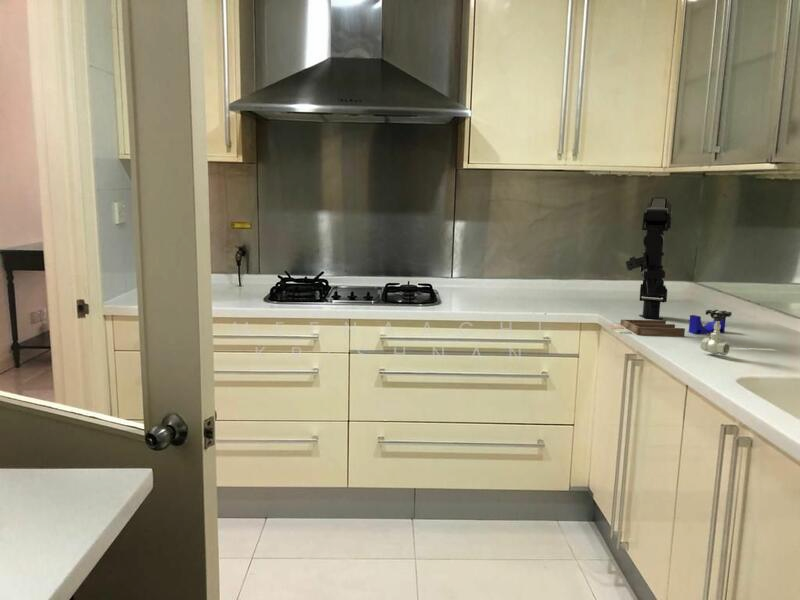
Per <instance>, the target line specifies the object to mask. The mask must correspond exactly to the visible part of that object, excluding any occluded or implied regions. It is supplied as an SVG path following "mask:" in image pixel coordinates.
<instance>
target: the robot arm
mask: <svg viewBox="0 0 800 600" xmlns="http://www.w3.org/2000/svg"><path fill="white" fill-rule="evenodd" d="M672 214H673V205H672V204H671V203H670V202H669V200H668V197H665V196H654V197H651V201H650V202H648V203H647V204H646V209H645V211H644V212H643V217H642V218H643V219H642V225H641V226H642V227H641V231H646V233H645V235H644V238H643V245H644V248H643V251H642V253H641V254H642V255H639V256H630V257H629V258H628V259H625V260H624V264H625V266H626V270H627V271H628V272H629V271H632V270H634V269H637V268H640V269H639V272H640V273H641V277H642V278H643V280H642V283H641V284H640V289H639V301H640V302H643V304H642V314H638V317H641V318H643V319H644V320H663V319H664V318H663V317H662V316H660V312H661V311H660V310H661V303H667V300H668V299H667V298H668V288H667V286H666V285H665V278H666V270H664V269H663V268H664V265H663V260H664V255H665V252H664V248H665V247H664V246H665V239H666V238H665V234H666V233H664V232H668V231H669V230H671V227H672V226H671V225H672Z"/></svg>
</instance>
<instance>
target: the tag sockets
mask: <svg viewBox="0 0 800 600" xmlns="http://www.w3.org/2000/svg"><path fill="white" fill-rule="evenodd" d="M608 327H609V328H610V329H615V332H617V333H619V334H627V335H628V334H630V335H632V334H634V335H637V336H655V337H658V336H660V337H685V333H686V328H684V327H676V324H674V323H667V320H663V319H620V325H619V326H618V325H609V326H608Z"/></svg>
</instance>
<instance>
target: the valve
mask: <svg viewBox="0 0 800 600" xmlns="http://www.w3.org/2000/svg"><path fill="white" fill-rule="evenodd" d="M705 315H710V317H711V319H713V320H714V321H716V324H714V329H715V331H713V333H711V334H710V338H709V337H704V338H703V339H702V340H701V342H700V349H701V350H703V351H704V352H708V353H710V354H714V355H718V354H719V355H721V356H727V355H728V354H729V353H730V351H731V345H730V343H729V342H727V341H725V340H724V341H723V340H722V339H723V333H720V331H719V330H720V328H721V324H720V321H722V319H725V318H729V317H732V311H727V310H719V309H714V310H712V309H707V310H705ZM723 315H724V317H723Z"/></svg>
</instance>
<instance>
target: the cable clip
mask: <svg viewBox="0 0 800 600" xmlns="http://www.w3.org/2000/svg"><path fill="white" fill-rule="evenodd" d="M723 317H724V315H723ZM726 318H727V317H726ZM726 318H725V319H722V321H720V324H721V328H720V330H719V331H720V333H721V334H724V333H725V330H726V320H727V319H726ZM714 324H716V321H714V319H713V320H712V321H708V322H707V323H706V324H703V323H702V316H700V315H695V314H690V315H689V324H688V325H689V326H688V333H689V332H690V333H689V334H693V335H707V333H713V331H715V329H714ZM697 333H698V334H697Z"/></svg>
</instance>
